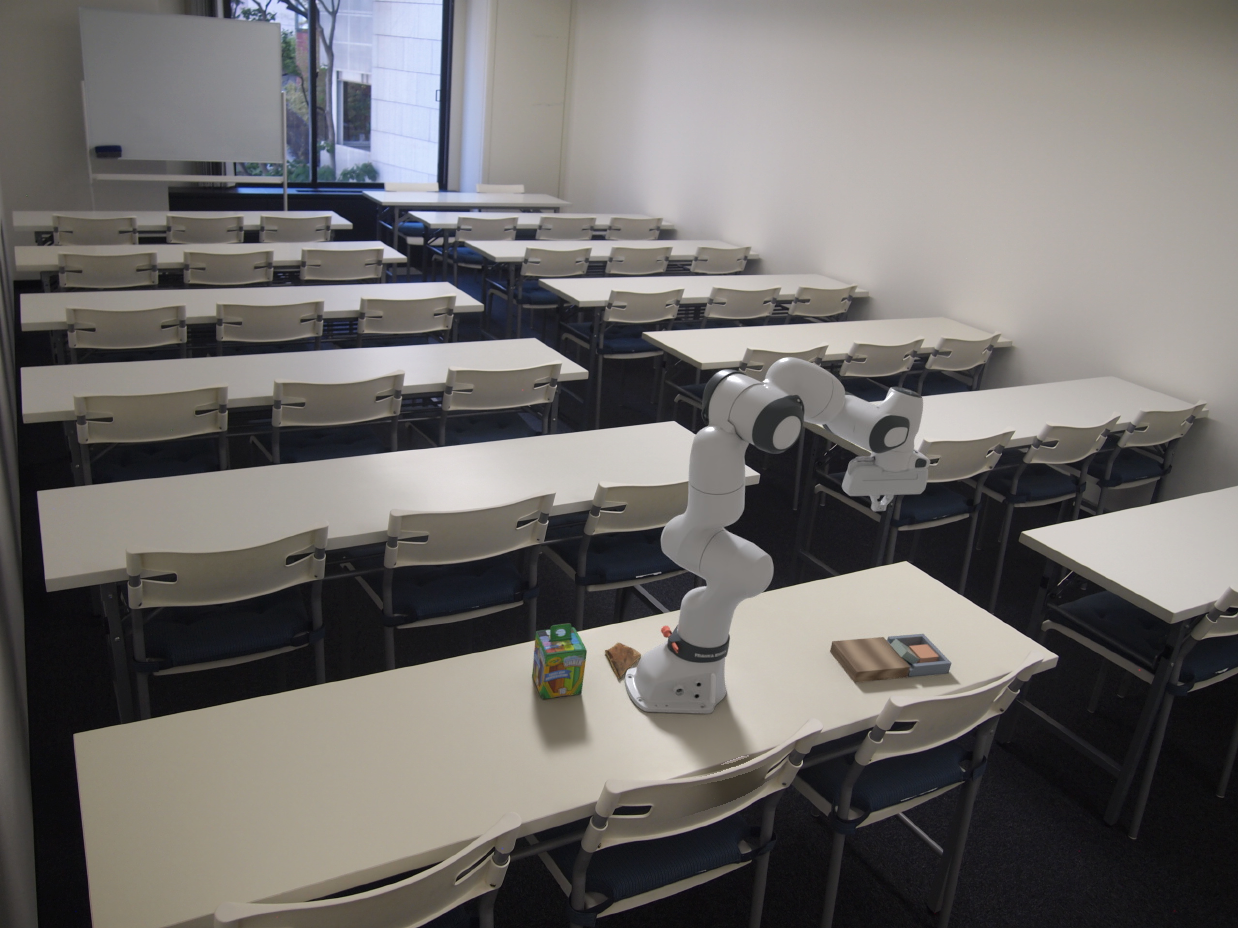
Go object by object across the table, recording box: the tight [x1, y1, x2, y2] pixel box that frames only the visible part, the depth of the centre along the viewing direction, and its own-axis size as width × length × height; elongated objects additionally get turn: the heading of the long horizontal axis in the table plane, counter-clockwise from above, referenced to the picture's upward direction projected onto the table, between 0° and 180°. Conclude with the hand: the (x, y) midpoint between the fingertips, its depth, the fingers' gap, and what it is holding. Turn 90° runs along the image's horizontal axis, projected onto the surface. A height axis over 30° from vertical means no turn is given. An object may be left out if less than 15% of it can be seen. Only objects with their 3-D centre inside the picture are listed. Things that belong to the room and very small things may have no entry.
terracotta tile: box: [909, 644, 939, 663], centre depth 221 cm, size 5×5×2 cm
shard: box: [604, 642, 642, 680], centre depth 208 cm, size 11×8×2 cm
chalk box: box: [531, 622, 588, 700], centre depth 196 cm, size 9×9×15 cm
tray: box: [886, 633, 952, 678], centre depth 221 cm, size 11×12×3 cm
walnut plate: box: [829, 636, 910, 683], centre depth 217 cm, size 14×12×3 cm
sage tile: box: [890, 639, 919, 664], centre depth 219 cm, size 5×5×2 cm
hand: (877, 510), depth 214 cm, fingers closed
